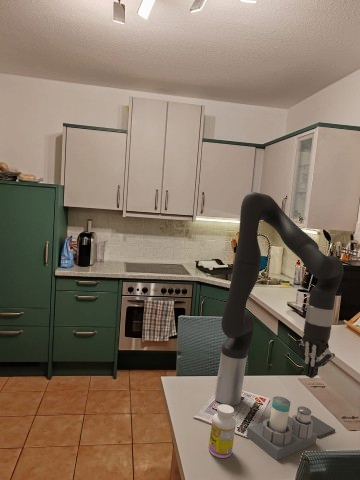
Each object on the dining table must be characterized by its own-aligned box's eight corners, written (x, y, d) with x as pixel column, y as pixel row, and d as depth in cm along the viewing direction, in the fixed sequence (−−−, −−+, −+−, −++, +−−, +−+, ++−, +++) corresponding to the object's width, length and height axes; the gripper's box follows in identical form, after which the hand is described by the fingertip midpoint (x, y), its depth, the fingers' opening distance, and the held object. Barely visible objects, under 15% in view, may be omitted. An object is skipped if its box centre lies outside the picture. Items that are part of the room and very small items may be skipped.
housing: (276, 460, 105) (280, 436, 105) (246, 436, 115) (249, 414, 115) (315, 444, 116) (319, 422, 115) (285, 423, 125) (288, 403, 125)
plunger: (303, 430, 112) (305, 414, 112) (292, 423, 116) (295, 407, 115) (311, 427, 115) (314, 411, 114) (300, 420, 118) (303, 405, 118)
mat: (318, 438, 119) (318, 435, 119) (295, 423, 126) (295, 420, 126) (334, 431, 124) (335, 429, 124) (311, 417, 131) (312, 415, 131)
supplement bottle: (206, 443, 109) (212, 401, 108) (228, 444, 110) (234, 402, 109) (210, 458, 102) (216, 414, 101) (233, 460, 103) (240, 415, 102)
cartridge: (277, 443, 108) (282, 406, 108) (264, 433, 113) (269, 398, 112) (288, 438, 111) (294, 403, 110) (275, 429, 116) (280, 395, 115)
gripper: (346, 327, 109) (336, 384, 111) (307, 314, 120) (299, 365, 122) (330, 329, 105) (321, 388, 106) (292, 315, 116) (284, 369, 117)
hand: (309, 376), depth 114 cm, fingers closed
